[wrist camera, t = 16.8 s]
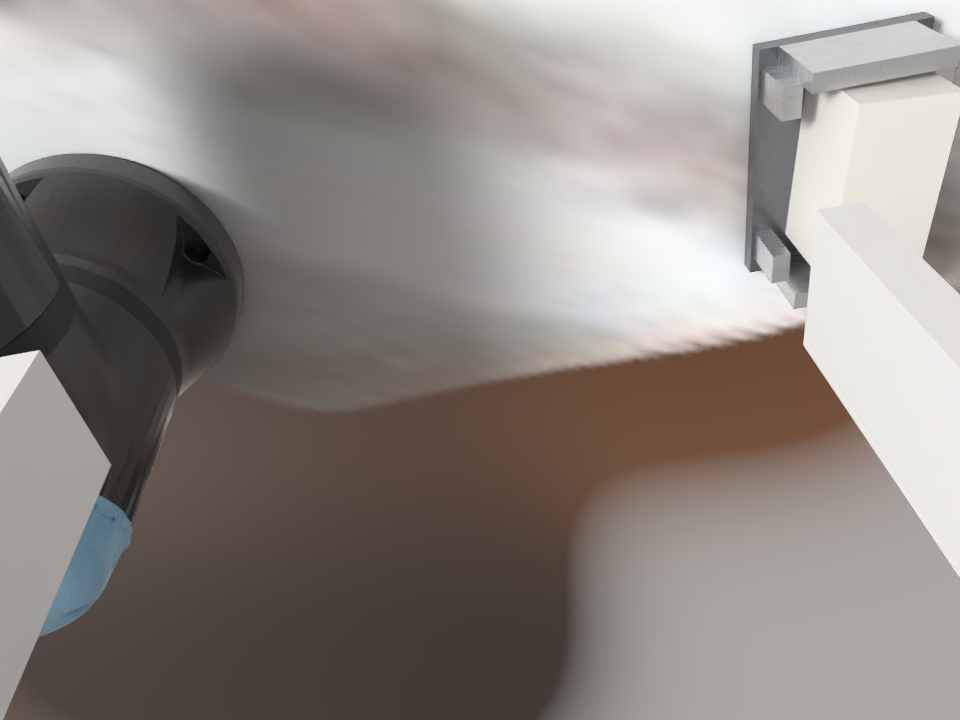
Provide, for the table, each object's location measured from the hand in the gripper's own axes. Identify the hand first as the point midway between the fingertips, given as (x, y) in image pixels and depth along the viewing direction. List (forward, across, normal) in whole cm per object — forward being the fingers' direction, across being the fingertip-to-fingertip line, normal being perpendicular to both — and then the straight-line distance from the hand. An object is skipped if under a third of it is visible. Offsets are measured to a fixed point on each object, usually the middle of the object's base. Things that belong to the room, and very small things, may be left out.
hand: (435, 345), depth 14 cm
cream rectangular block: (+31, +21, -13) cm, 40 cm away
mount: (+32, +21, -14) cm, 40 cm away
